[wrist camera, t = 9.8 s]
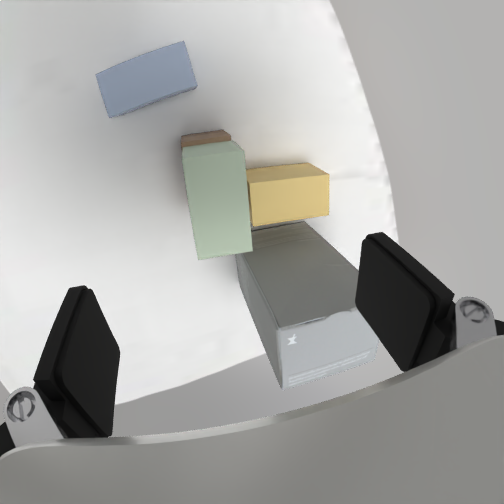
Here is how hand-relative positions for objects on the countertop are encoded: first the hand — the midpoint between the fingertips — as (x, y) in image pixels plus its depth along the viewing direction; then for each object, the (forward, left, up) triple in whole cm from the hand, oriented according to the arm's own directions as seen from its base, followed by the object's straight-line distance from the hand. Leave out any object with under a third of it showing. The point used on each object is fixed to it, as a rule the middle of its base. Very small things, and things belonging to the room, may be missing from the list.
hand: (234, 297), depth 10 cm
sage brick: (+1, +1, -15) cm, 15 cm away
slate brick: (-9, -3, -20) cm, 22 cm away
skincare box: (+10, +6, -21) cm, 24 cm away
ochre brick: (+3, +7, -21) cm, 22 cm away
